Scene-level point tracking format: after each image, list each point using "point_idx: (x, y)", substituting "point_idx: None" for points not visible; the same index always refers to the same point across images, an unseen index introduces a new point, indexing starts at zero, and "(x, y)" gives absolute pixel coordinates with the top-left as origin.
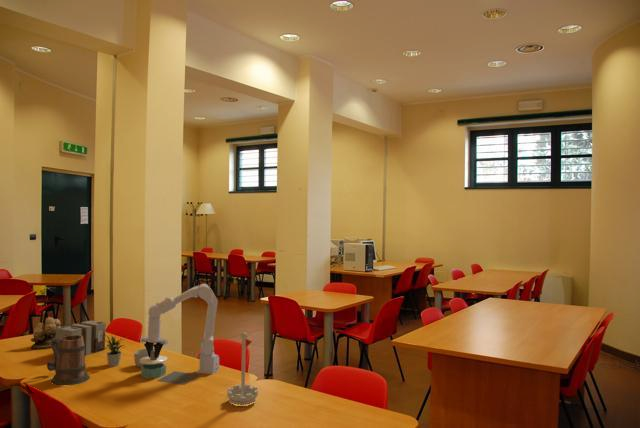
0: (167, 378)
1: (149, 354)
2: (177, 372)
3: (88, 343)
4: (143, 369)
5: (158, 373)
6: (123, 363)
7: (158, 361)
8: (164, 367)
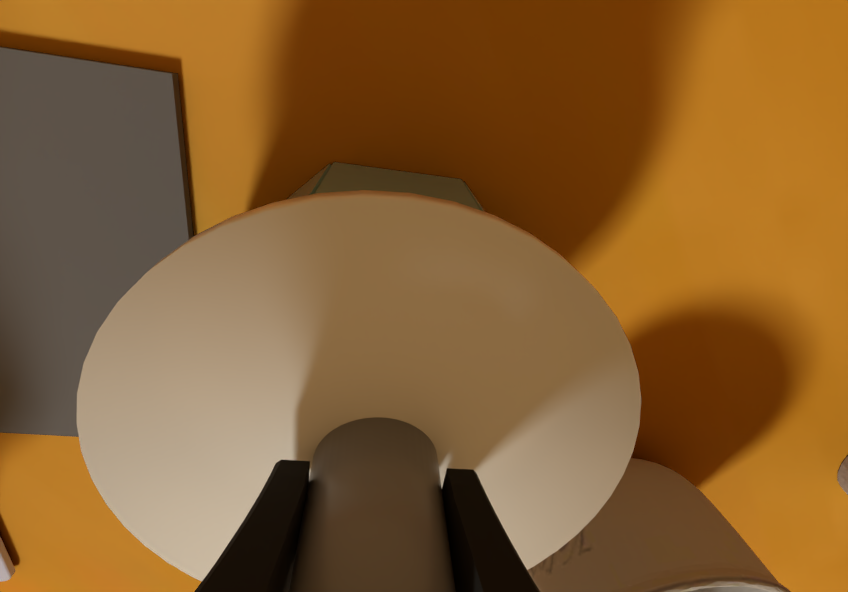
0: (94, 211)
1: (461, 529)
2: None
3: None
4: None
5: None
6: (800, 503)
7: (165, 368)
8: None
